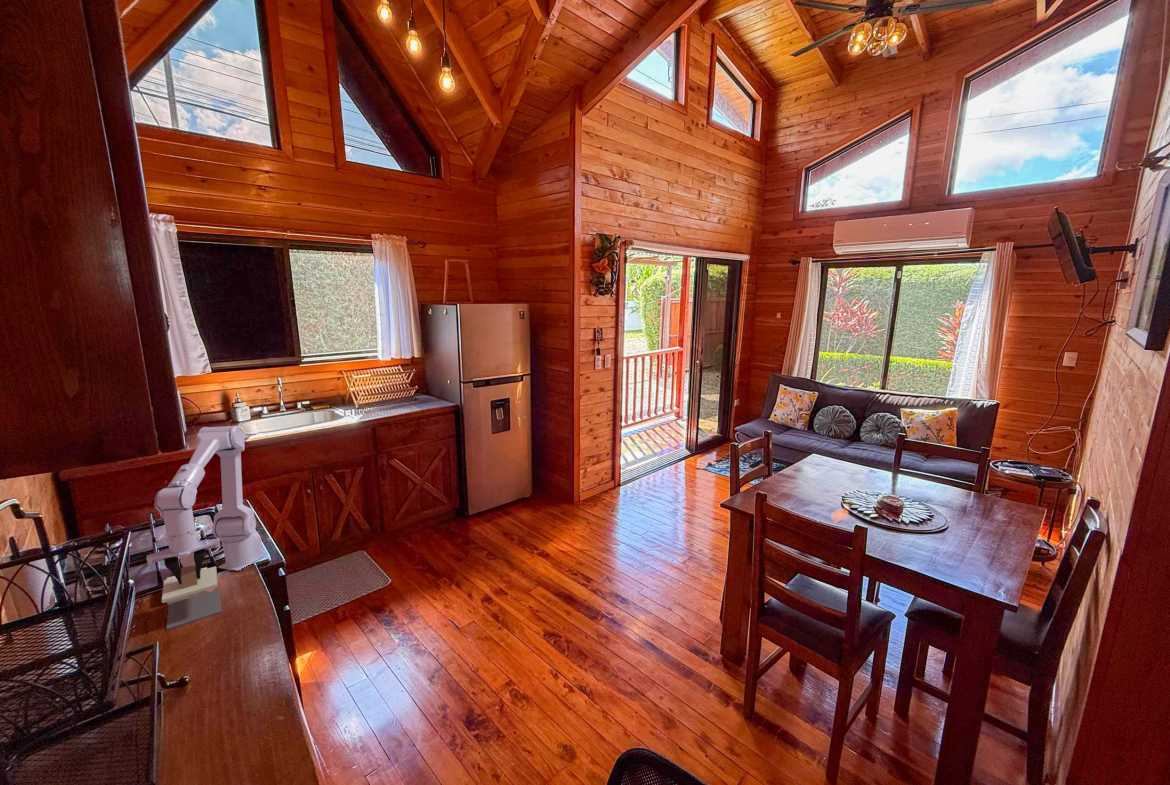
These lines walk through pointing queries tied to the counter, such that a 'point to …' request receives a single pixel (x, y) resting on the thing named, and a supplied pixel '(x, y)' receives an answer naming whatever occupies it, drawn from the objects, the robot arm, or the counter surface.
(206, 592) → the dish
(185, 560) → the smoothie
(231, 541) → the robot arm
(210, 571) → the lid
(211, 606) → the mat
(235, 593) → the counter surface
